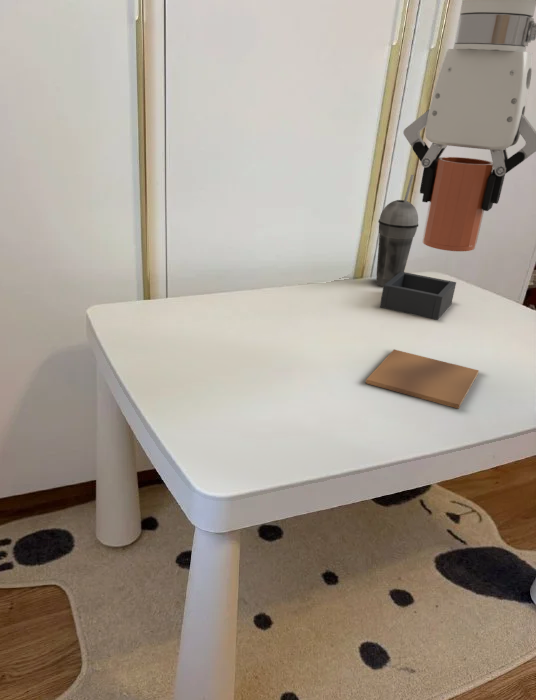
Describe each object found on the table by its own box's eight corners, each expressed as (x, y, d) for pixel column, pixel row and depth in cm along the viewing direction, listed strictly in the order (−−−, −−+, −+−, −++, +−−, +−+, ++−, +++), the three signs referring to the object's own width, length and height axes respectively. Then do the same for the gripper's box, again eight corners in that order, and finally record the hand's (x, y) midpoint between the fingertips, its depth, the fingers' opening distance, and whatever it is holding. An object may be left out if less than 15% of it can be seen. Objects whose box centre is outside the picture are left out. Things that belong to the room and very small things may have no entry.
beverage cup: (362, 278, 123) (378, 171, 114) (396, 277, 125) (415, 171, 116) (378, 290, 117) (397, 177, 108) (414, 289, 119) (435, 178, 110)
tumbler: (479, 244, 81) (498, 161, 76) (468, 254, 76) (488, 166, 71) (429, 235, 83) (445, 155, 79) (416, 245, 78) (432, 160, 74)
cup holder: (451, 303, 113) (456, 282, 111) (437, 320, 105) (442, 297, 103) (397, 292, 117) (400, 271, 115) (379, 307, 109) (383, 284, 107)
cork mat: (478, 374, 87) (479, 370, 86) (458, 409, 77) (459, 404, 77) (393, 352, 92) (393, 349, 91) (365, 383, 82) (366, 379, 82)
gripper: (581, 40, 68) (536, 210, 77) (422, 36, 75) (397, 191, 84) (575, 36, 62) (527, 220, 71) (403, 32, 70) (378, 199, 78)
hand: (457, 203), depth 77 cm, fingers closed on tumbler, 6 cm apart
